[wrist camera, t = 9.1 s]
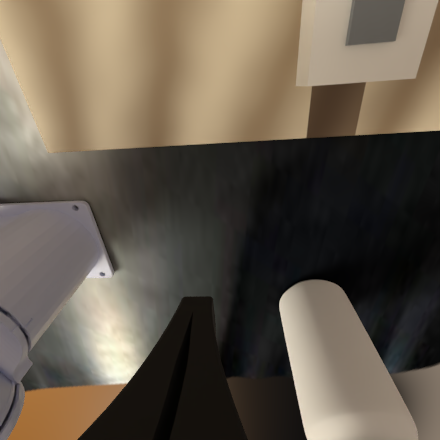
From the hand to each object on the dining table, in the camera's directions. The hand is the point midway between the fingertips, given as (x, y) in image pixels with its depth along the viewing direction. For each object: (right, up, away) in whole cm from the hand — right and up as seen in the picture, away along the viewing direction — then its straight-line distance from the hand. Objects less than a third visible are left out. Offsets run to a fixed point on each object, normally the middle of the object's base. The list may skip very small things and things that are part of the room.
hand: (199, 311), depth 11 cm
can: (+10, -4, +13) cm, 17 cm away
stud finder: (+8, +15, +1) cm, 17 cm away
